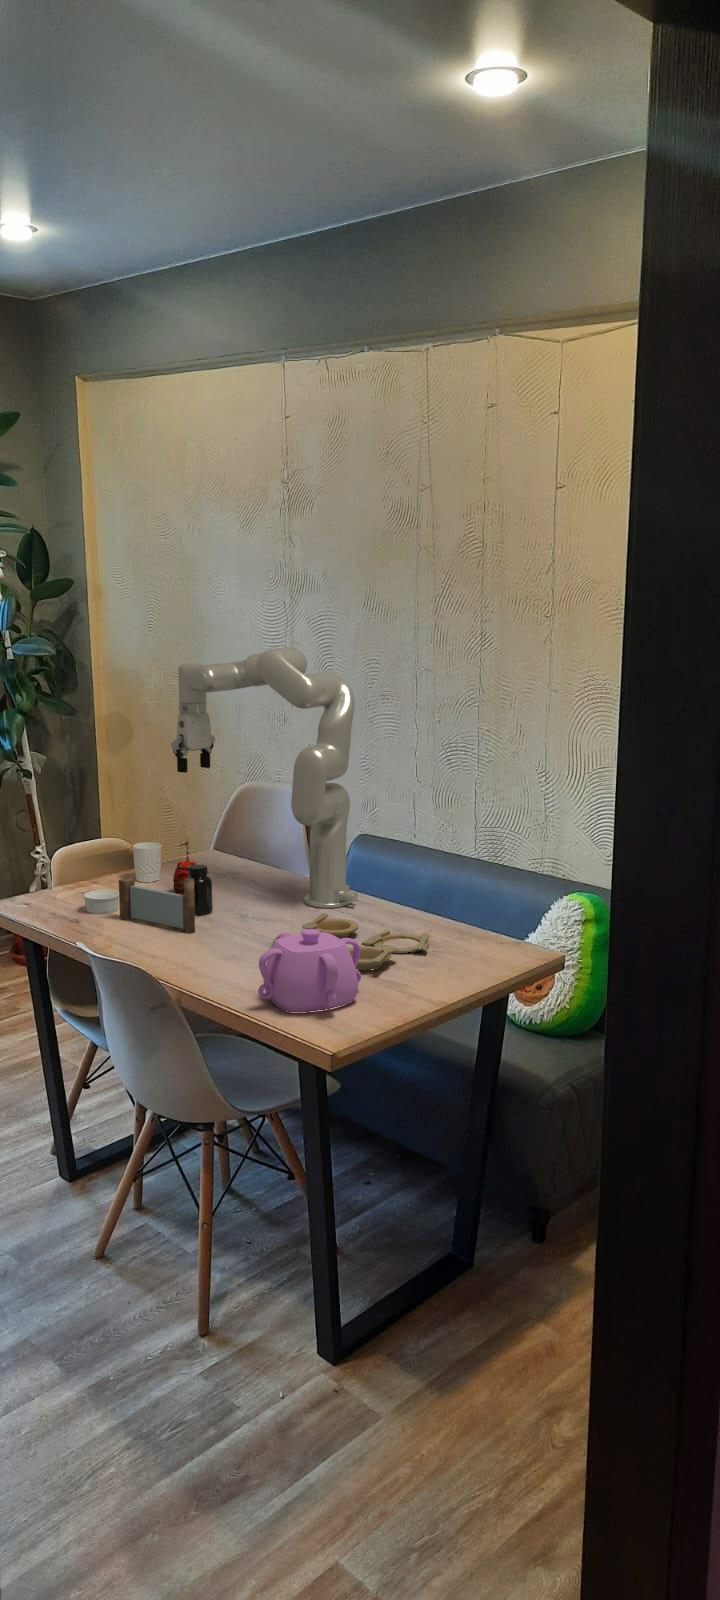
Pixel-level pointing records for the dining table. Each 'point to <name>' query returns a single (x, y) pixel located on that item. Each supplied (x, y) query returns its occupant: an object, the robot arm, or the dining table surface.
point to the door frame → (189, 923)
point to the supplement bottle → (201, 889)
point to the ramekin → (101, 901)
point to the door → (157, 906)
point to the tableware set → (367, 941)
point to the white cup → (147, 861)
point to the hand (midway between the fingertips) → (194, 769)
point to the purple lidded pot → (310, 971)
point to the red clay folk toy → (181, 873)
